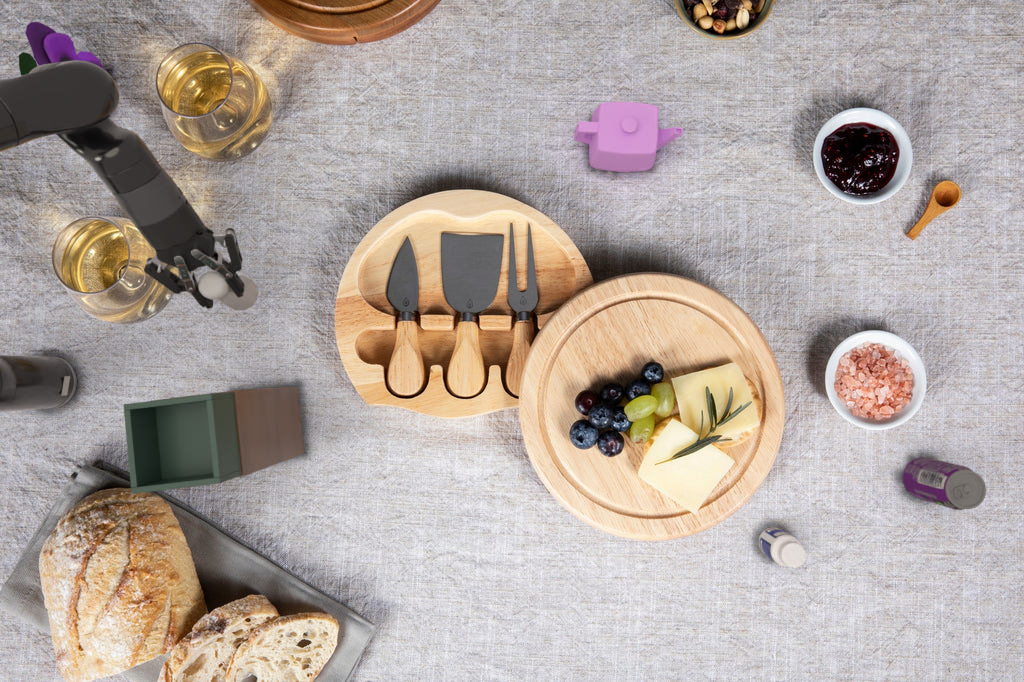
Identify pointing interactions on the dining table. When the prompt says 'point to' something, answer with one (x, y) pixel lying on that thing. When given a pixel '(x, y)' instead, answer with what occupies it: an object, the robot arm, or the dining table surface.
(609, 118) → the teapot
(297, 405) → the stand
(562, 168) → the dining table surface
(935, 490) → the beverage can
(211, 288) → the salt shaker
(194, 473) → the bin
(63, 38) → the flower
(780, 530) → the pill bottle
